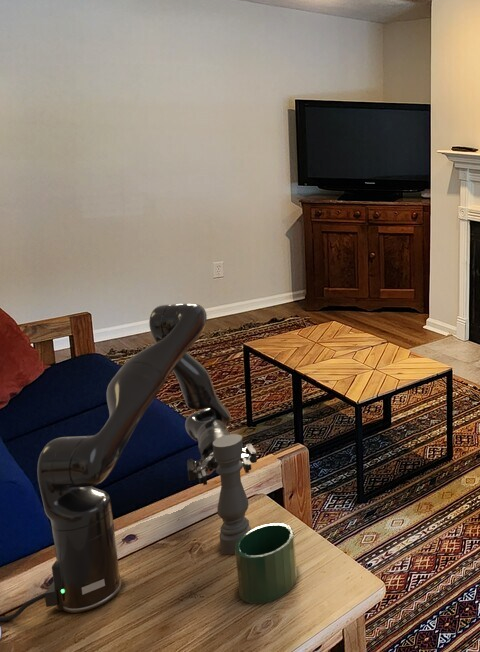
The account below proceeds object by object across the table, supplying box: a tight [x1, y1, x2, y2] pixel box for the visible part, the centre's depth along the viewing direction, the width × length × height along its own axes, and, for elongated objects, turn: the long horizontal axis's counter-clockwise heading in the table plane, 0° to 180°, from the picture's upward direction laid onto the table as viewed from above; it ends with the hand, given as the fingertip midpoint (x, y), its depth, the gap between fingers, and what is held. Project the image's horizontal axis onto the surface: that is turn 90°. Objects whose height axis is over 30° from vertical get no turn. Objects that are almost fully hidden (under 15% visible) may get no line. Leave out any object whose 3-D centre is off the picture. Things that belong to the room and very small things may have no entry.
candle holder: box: [213, 433, 252, 555], centre depth 135 cm, size 6×6×25 cm
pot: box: [234, 522, 298, 605], centre depth 125 cm, size 11×11×10 cm
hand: (226, 475), depth 140 cm, fingers open, 8 cm apart
